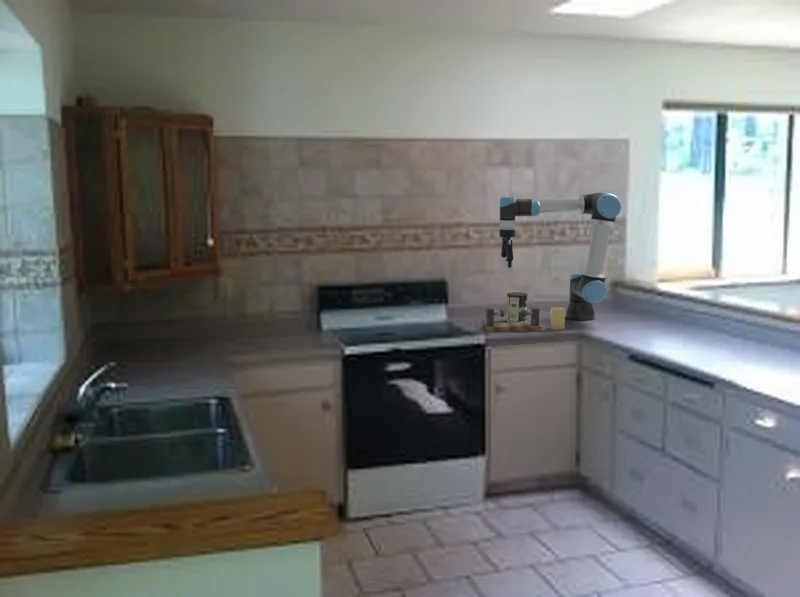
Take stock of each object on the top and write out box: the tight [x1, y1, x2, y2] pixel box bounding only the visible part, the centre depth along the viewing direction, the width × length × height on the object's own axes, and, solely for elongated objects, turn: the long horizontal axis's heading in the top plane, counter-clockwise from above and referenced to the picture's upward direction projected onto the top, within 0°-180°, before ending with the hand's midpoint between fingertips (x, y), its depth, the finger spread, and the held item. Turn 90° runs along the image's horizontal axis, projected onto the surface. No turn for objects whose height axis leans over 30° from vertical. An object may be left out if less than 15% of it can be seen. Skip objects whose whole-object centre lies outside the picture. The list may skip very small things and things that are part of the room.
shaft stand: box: [483, 307, 543, 333], centre depth 384 cm, size 26×11×10 cm, turn 93°
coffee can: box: [506, 291, 529, 323], centre depth 403 cm, size 10×10×14 cm
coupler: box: [549, 306, 566, 331], centre depth 386 cm, size 6×4×10 cm
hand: (506, 272), depth 391 cm, fingers open, 13 cm apart
